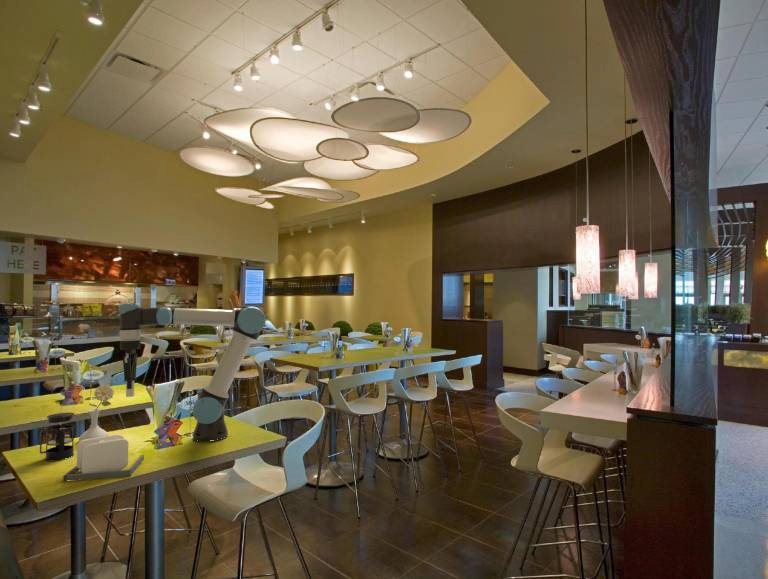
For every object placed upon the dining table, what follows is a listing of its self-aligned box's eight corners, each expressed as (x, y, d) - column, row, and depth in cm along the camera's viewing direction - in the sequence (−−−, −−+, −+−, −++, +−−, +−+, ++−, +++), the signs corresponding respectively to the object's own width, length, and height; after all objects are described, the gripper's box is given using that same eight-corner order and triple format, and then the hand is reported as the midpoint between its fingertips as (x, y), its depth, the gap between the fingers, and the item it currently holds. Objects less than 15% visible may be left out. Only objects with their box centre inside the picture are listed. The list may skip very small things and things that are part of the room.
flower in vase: (77, 446, 192) (79, 388, 193) (79, 439, 202) (81, 384, 203) (112, 441, 198) (113, 385, 199) (113, 435, 208) (114, 382, 209)
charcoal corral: (143, 460, 174) (144, 454, 174) (130, 475, 158) (130, 470, 158) (83, 464, 169) (83, 459, 169) (63, 481, 153) (63, 475, 153)
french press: (73, 451, 185) (75, 396, 186) (77, 456, 178) (79, 399, 179) (38, 457, 177) (40, 400, 178) (41, 464, 170) (42, 404, 171)
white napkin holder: (79, 480, 154) (80, 446, 154) (76, 471, 162) (77, 439, 163) (127, 470, 164) (128, 438, 164) (122, 462, 172) (123, 432, 172)
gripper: (124, 339, 190) (125, 394, 189) (115, 341, 178) (115, 400, 177) (144, 338, 192) (144, 392, 191) (135, 340, 180) (135, 398, 179)
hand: (130, 396), depth 184 cm, fingers closed
